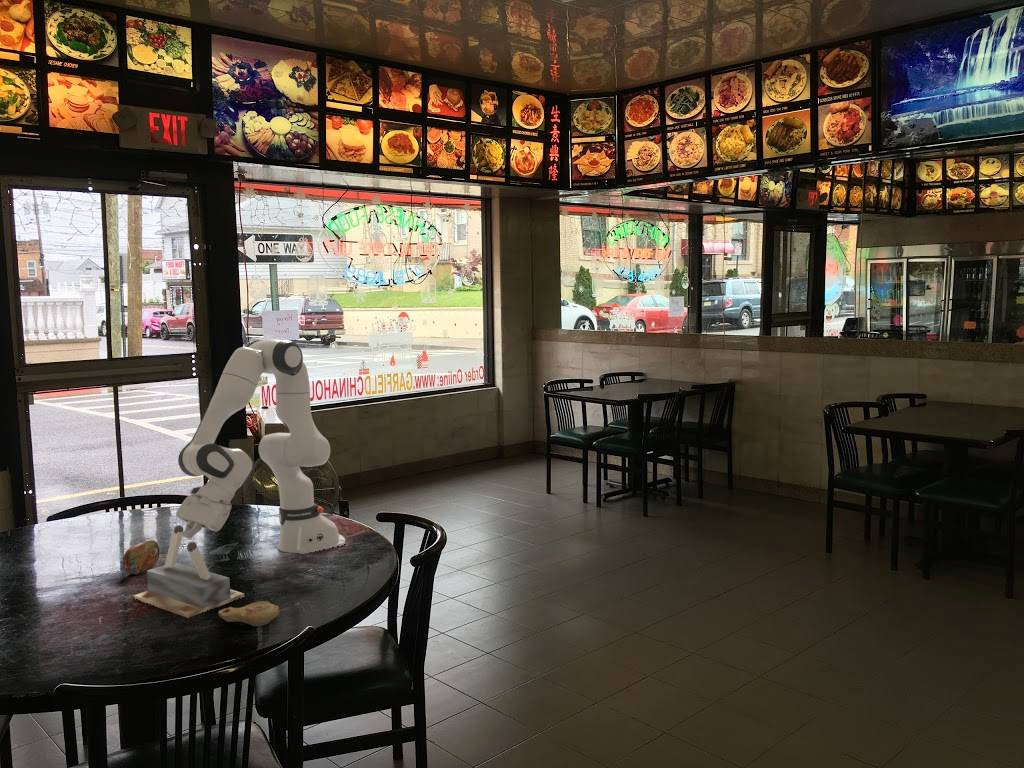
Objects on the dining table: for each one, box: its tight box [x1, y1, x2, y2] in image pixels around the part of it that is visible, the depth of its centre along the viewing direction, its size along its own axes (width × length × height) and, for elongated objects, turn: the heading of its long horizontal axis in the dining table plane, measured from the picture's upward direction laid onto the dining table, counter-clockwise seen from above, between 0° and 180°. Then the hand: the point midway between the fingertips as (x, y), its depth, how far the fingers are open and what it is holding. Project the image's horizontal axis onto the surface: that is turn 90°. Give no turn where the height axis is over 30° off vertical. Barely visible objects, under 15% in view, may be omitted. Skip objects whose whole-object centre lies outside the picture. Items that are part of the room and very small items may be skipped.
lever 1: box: [164, 525, 184, 567], centre depth 242 cm, size 3×3×12 cm
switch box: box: [133, 561, 245, 619], centre depth 237 cm, size 18×26×7 cm
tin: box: [122, 539, 160, 575], centre depth 262 cm, size 15×3×8 cm, turn 168°
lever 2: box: [186, 541, 211, 580], centre depth 228 cm, size 3×3×12 cm
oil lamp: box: [217, 600, 280, 627], centre depth 217 cm, size 11×14×5 cm
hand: (186, 537), depth 245 cm, fingers closed
